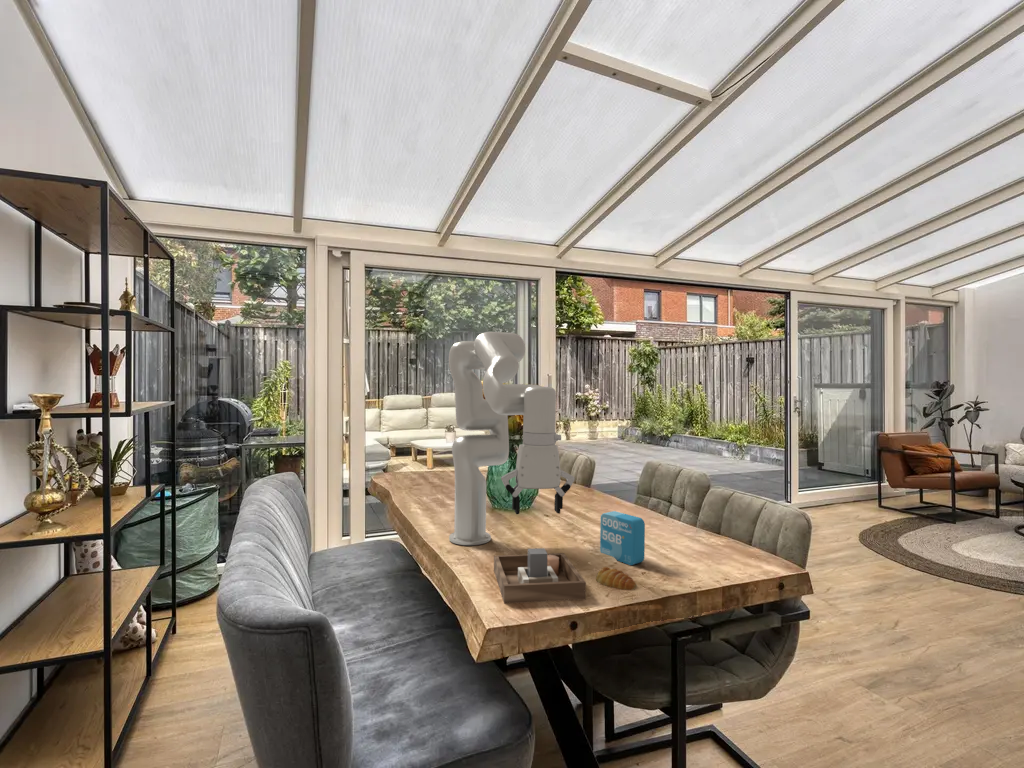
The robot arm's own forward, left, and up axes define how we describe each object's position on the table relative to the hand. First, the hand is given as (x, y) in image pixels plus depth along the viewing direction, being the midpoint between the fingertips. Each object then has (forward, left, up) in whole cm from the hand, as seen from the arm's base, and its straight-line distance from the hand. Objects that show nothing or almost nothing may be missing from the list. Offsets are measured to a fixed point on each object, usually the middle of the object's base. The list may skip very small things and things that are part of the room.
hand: (537, 512), depth 126 cm
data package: (-18, +27, -18) cm, 37 cm away
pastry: (+1, +19, -18) cm, 26 cm away
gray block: (0, 0, -17) cm, 17 cm away
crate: (-1, 0, -18) cm, 18 cm away
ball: (-7, +5, -17) cm, 19 cm away
